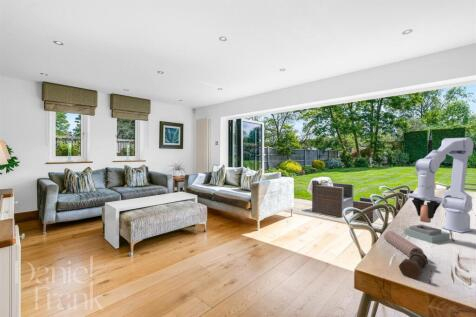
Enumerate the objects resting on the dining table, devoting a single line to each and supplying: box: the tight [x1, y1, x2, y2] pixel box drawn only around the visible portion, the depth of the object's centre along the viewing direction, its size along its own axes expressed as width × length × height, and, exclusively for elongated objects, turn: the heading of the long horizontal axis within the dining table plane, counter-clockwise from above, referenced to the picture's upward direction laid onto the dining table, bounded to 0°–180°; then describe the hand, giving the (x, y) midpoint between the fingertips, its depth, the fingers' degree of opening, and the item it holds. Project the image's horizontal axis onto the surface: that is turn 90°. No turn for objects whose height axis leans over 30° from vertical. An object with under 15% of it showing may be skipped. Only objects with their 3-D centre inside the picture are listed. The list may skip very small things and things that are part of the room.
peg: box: [419, 204, 431, 224], centre depth 102 cm, size 4×4×7 cm
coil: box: [383, 230, 425, 258], centre depth 89 cm, size 5×5×18 cm
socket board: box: [404, 223, 451, 244], centre depth 103 cm, size 12×11×4 cm
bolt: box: [398, 252, 429, 280], centre depth 74 cm, size 6×5×15 cm
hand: (425, 217), depth 102 cm, fingers closed on peg, 4 cm apart
